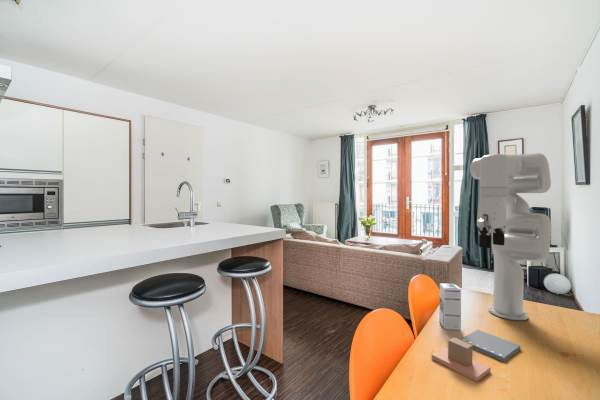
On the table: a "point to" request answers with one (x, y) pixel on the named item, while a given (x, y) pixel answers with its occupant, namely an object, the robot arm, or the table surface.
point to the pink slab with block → (461, 359)
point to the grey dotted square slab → (491, 345)
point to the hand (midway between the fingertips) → (491, 246)
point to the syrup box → (450, 306)
